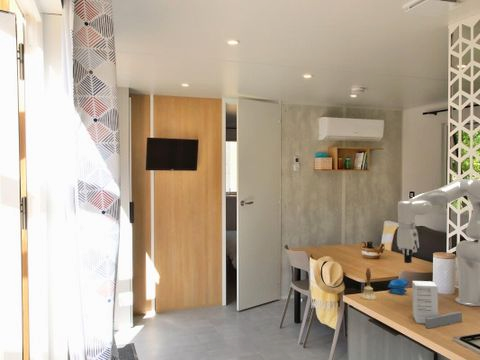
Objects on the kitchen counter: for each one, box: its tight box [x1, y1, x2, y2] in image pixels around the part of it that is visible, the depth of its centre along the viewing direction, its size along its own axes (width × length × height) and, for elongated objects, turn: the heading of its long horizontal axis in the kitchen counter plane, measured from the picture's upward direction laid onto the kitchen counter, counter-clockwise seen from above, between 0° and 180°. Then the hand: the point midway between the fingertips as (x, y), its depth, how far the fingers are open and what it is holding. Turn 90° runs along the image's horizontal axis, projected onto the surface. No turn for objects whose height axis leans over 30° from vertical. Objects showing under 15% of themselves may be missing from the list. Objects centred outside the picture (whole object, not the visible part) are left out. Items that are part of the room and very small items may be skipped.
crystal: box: [387, 277, 410, 295], centre depth 222 cm, size 7×9×12 cm
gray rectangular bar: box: [425, 311, 463, 329], centre depth 175 cm, size 20×2×4 cm, turn 112°
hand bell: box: [360, 267, 377, 301], centre depth 215 cm, size 8×8×16 cm
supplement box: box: [411, 280, 439, 325], centre depth 180 cm, size 10×9×17 cm
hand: (408, 262), depth 197 cm, fingers closed
